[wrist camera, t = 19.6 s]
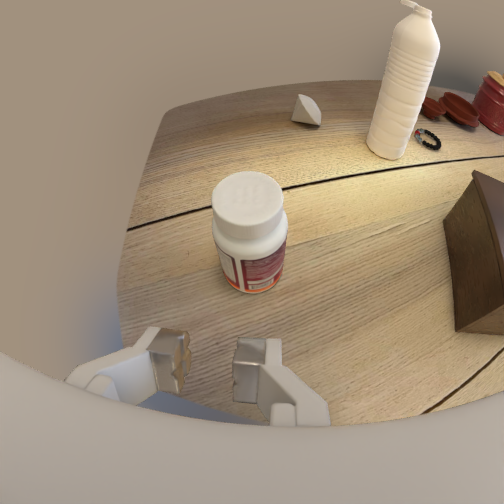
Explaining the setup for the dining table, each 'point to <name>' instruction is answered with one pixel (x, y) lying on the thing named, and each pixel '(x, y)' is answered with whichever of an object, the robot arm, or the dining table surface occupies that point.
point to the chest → (474, 267)
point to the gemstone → (306, 111)
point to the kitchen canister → (491, 102)
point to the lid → (493, 211)
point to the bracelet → (417, 136)
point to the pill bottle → (250, 230)
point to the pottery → (452, 109)
